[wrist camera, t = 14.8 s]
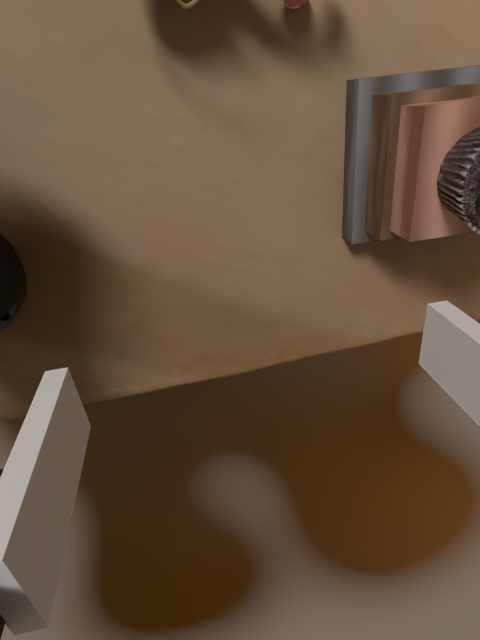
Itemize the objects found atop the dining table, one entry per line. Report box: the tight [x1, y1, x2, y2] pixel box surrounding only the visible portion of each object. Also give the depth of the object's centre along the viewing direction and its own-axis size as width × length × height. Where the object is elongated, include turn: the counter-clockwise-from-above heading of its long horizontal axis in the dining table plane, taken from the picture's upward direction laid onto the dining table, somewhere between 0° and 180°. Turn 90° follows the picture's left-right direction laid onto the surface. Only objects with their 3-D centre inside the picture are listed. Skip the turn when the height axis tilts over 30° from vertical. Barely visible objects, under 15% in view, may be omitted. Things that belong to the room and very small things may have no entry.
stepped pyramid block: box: [342, 65, 480, 244], centre depth 43 cm, size 17×17×11 cm
